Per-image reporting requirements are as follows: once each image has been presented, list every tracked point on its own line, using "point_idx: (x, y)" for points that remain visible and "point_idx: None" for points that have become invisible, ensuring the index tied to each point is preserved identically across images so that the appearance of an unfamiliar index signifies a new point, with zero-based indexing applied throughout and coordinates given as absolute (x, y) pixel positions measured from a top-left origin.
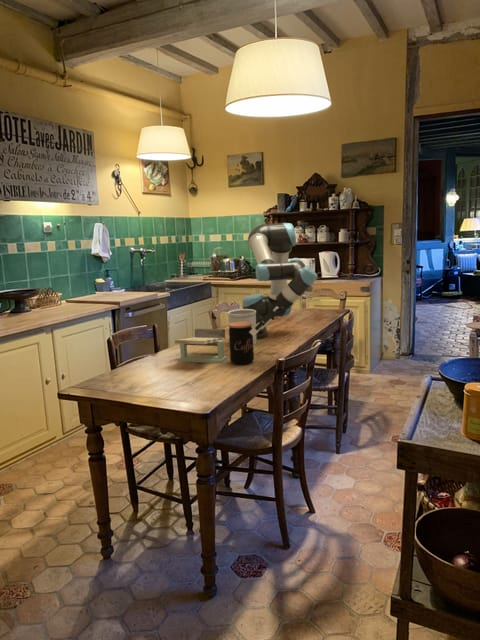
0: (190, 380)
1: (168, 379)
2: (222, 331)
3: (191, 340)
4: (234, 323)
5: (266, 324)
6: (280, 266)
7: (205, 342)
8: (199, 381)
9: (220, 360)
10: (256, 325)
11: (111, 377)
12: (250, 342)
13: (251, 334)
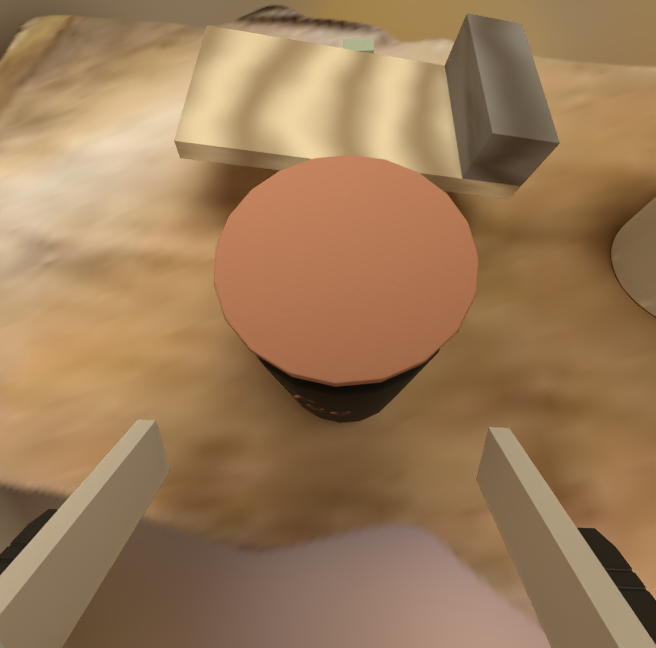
0: (84, 244)
1: (106, 177)
2: (500, 147)
3: (190, 85)
4: (349, 195)
5: (517, 567)
6: None
7: (201, 153)
8: (66, 278)
9: None
10: (42, 540)
11: (144, 45)
12: (309, 403)
13: (327, 400)
